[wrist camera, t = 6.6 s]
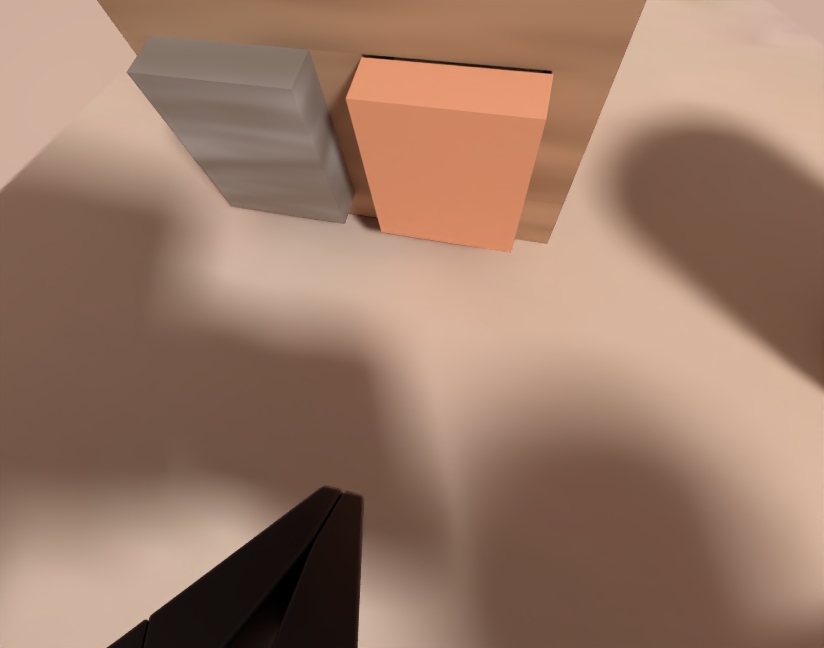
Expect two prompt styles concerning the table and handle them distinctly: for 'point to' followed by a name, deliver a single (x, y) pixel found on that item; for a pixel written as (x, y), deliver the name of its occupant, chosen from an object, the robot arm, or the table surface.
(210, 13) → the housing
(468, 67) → the plug
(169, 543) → the table surface
